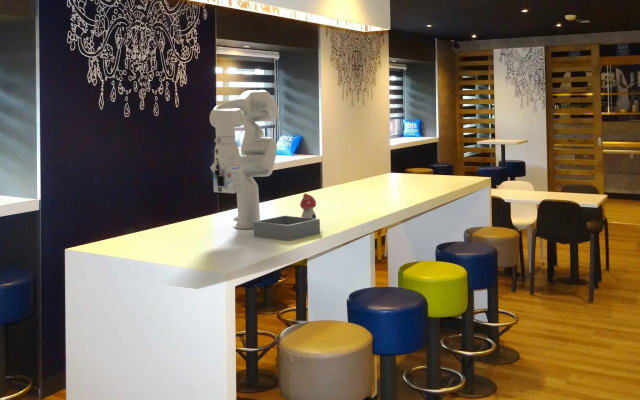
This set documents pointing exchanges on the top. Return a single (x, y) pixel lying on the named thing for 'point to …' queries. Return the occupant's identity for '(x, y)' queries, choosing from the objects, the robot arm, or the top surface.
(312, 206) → the decorative ornament
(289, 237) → the tote
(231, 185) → the light bulb box
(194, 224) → the top surface
